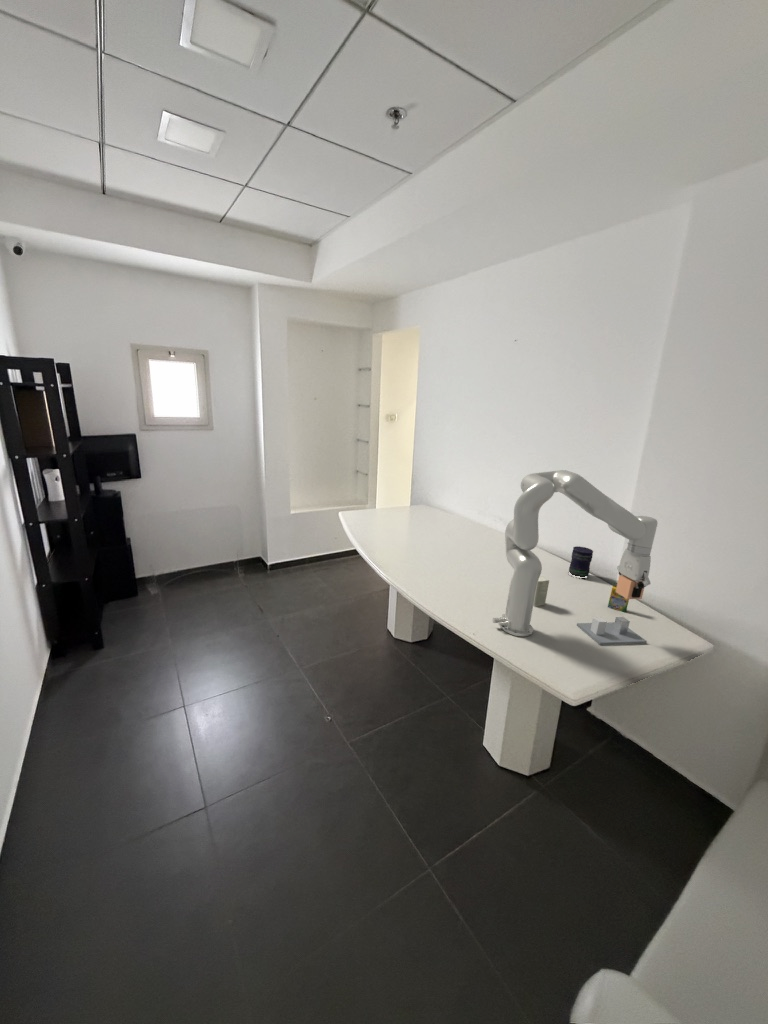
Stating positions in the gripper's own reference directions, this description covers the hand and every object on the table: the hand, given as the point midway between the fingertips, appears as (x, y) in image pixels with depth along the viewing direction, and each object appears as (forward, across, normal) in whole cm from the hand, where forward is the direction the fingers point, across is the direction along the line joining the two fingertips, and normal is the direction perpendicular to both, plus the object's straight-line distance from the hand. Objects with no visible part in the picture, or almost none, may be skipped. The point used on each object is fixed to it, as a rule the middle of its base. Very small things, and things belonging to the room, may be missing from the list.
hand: (628, 592), depth 154 cm
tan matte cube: (+1, 0, 0) cm, 1 cm away
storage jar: (+18, -57, +21) cm, 63 cm away
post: (+18, 0, 0) cm, 18 cm away
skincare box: (+18, -26, -21) cm, 38 cm away
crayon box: (+18, -20, +15) cm, 31 cm away
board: (+18, 0, -4) cm, 18 cm away
